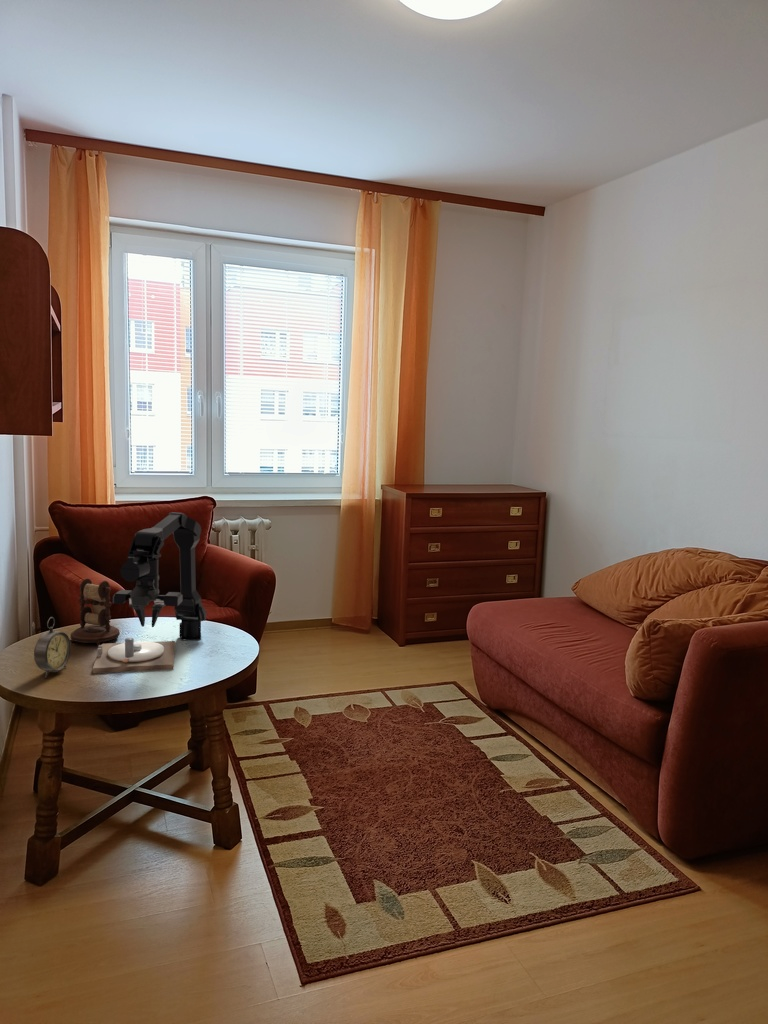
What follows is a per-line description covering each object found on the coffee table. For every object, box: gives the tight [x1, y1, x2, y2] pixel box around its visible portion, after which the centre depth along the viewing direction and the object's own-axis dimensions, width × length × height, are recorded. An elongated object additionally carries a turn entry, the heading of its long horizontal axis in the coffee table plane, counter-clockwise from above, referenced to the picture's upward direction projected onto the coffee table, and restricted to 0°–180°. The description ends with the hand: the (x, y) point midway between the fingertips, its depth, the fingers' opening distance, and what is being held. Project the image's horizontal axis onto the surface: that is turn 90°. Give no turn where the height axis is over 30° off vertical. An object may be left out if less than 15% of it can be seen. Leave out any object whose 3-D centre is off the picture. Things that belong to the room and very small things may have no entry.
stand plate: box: [92, 640, 176, 674], centre depth 217 cm, size 22×22×4 cm
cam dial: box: [108, 637, 164, 662], centre depth 216 cm, size 18×16×6 cm
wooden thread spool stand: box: [70, 578, 120, 647], centre depth 232 cm, size 15×15×20 cm
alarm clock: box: [33, 616, 72, 679], centre depth 202 cm, size 11×5×16 cm, turn 168°
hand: (148, 626), depth 210 cm, fingers open, 3 cm apart
